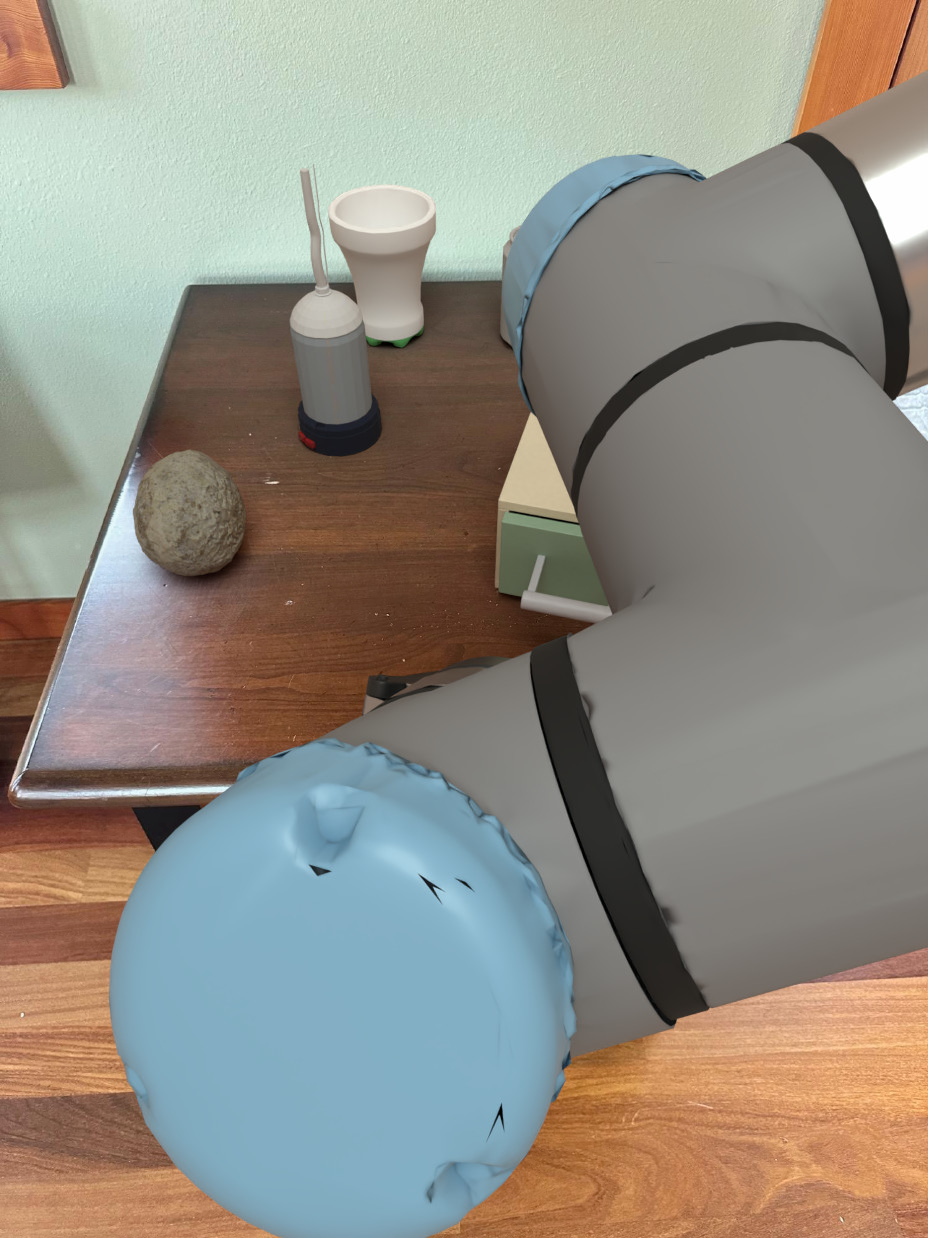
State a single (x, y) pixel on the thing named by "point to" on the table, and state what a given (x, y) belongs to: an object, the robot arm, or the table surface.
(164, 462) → the decorative stone
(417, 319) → the cup
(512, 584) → the drawer
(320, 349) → the humidifier
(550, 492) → the cabinet
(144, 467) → the table surface
